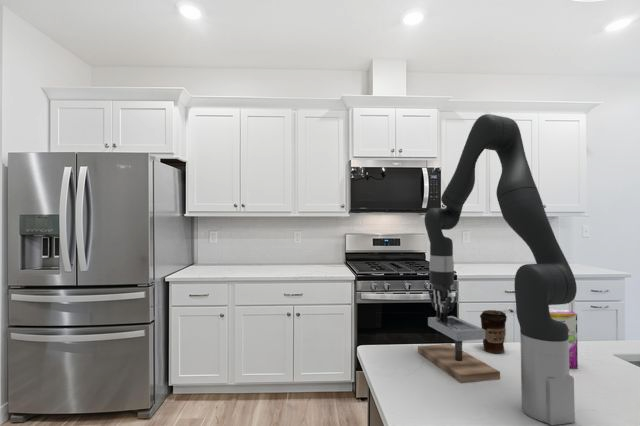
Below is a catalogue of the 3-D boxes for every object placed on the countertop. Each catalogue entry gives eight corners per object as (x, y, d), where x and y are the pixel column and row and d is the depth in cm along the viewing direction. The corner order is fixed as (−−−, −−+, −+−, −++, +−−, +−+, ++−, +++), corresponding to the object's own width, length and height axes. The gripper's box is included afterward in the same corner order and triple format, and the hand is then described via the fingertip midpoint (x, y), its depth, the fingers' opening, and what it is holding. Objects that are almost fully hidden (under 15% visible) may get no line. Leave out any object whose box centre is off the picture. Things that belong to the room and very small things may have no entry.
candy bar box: (539, 368, 106) (537, 312, 106) (531, 361, 111) (529, 308, 111) (579, 369, 105) (578, 313, 105) (569, 363, 110) (567, 309, 110)
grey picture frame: (485, 339, 102) (485, 329, 102) (457, 341, 100) (457, 331, 100) (453, 323, 117) (452, 315, 117) (428, 325, 115) (428, 317, 115)
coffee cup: (513, 355, 116) (512, 315, 116) (487, 355, 116) (486, 314, 117) (500, 346, 125) (499, 309, 125) (476, 346, 125) (475, 308, 125)
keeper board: (500, 379, 98) (499, 344, 98) (461, 382, 95) (460, 348, 96) (450, 349, 121) (449, 322, 122) (417, 352, 119) (417, 324, 119)
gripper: (464, 271, 110) (465, 328, 110) (440, 266, 124) (440, 317, 123) (442, 272, 109) (443, 329, 108) (420, 267, 122) (421, 318, 122)
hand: (441, 322), depth 116 cm, fingers closed on grey picture frame, 1 cm apart
